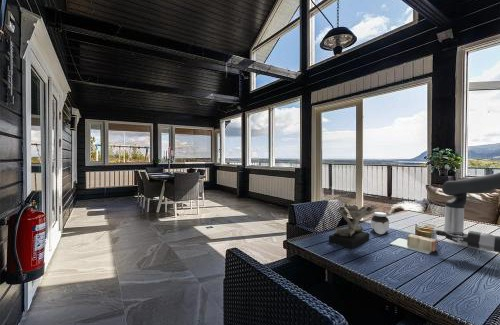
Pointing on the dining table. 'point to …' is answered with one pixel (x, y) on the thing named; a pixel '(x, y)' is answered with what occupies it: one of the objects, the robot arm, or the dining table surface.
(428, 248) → the maple block
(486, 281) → the dining table surface
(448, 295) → the dining table surface
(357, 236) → the coral
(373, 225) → the spread jar
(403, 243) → the sage board
